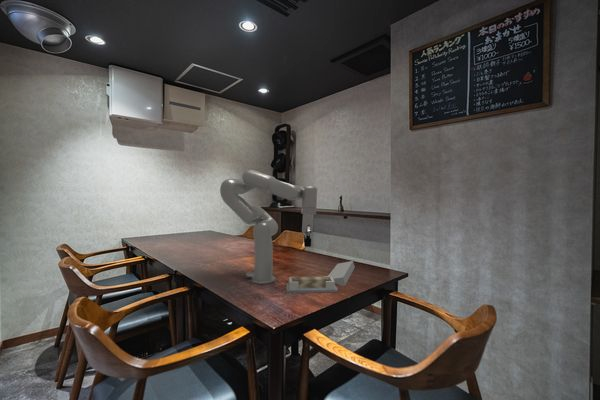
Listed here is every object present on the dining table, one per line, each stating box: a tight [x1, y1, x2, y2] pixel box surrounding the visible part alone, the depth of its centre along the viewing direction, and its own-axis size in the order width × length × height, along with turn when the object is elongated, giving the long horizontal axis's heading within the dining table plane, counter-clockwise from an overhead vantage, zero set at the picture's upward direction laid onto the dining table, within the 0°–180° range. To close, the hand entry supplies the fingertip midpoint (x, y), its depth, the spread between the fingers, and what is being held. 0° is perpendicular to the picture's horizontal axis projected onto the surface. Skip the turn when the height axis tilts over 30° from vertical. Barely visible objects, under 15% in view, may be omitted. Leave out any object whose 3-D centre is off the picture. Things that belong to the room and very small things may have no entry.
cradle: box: [285, 275, 339, 294], centre depth 127 cm, size 24×10×4 cm, turn 94°
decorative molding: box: [327, 260, 356, 287], centre depth 148 cm, size 34×5×10 cm
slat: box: [294, 276, 329, 288], centre depth 127 cm, size 16×4×4 cm, turn 94°
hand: (307, 244), depth 132 cm, fingers open, 9 cm apart
